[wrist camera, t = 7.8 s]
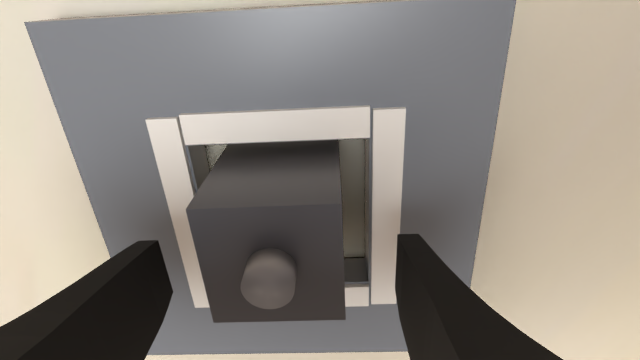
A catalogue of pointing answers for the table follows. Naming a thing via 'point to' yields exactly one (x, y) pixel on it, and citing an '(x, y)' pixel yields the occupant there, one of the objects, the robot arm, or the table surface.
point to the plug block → (272, 233)
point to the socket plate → (285, 136)
